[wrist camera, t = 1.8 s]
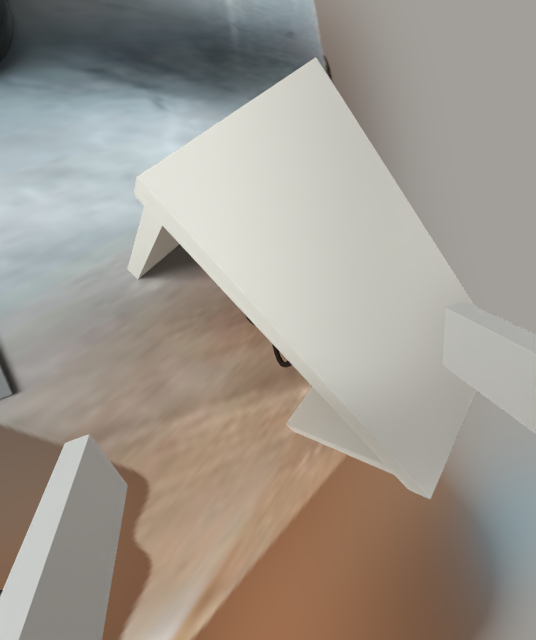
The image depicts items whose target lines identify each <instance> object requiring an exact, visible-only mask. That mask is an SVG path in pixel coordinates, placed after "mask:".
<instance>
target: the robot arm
mask: <svg viewBox="0 0 536 640" xmlns="http://www.w3.org/2000/svg"><path fill="white" fill-rule="evenodd" d="M12 36H13V21H12V16H11V12H10V8H9V5H8V1H7V0H0V60H1V59H2V58H3V57H4V55H5V54H6V52H7V51H8V49H9V47H10V44H11V41H12ZM442 365H443V366H444V367H445V368H447V369H448V370H450V371H451V372H452V373H454V374H455V375H456V376H458V377H459V378H460V379H462V380H463V381H464V382H466V383H467V384H469V385H470V386H471V387H473V388H474V389H475V390H477V391H478V392H479V393H481V394H482V395H484V396H485V397H486V398H488V399H489V400H490V401H492V402H493V403H494V404H496V405H497V406H498V407H500V408H501V409H502V410H504V411H505V412H507V413H508V414H509V415H511V416H512V417H513V418H515V419H516V420H517V421H519V422H520V423H521V424H523V425H525V426H526V427H527V428H528V429H530V430H531V431H532V432H534V433H535V434H536V334H535V333H532V332H530V331H528V330H526V329H524V328H522V327H519V326H517V325H515V324H513V323H510V322H508V321H506V320H504V319H502V318H499V317H497V316H495V315H493V314H491V313H489V312H486V311H484V310H482V309H480V308H478V307H475V306H473V305H471V304H469V303H467V302H464V301H462V302H460V303H457V304H454V305H451V306H448V307H446V312H445V328H444V345H443V361H442ZM126 491H127V484H126V482H125V481H124V480H123V478H122V477H121V476H120V474H119V473H118V472H117V470H116V469H115V468H114V466H113V465H112V464H111V462H110V461H109V460H108V458H107V457H106V456H105V454H104V453H103V452H102V450H101V449H100V448H99V446H98V445H97V444H96V442H95V441H94V440H93V438H92V437H91V436H90V434H89V435H86V436H83V437H80V438H78V439H75V440H72V441H69V442H66V443H65V445H64V447H63V449H62V452H61V454H60V456H59V459H58V461H57V464H56V466H55V468H54V471H53V473H52V475H51V478H50V480H49V482H48V485H47V487H46V489H45V492H44V494H43V497H42V499H41V501H40V504H39V506H38V508H37V511H36V513H35V516H34V518H33V520H32V523H31V525H30V527H29V530H28V532H27V534H26V537H25V539H24V541H23V544H22V546H21V549H20V551H19V553H18V556H17V558H16V560H15V563H14V565H13V567H12V570H11V572H10V575H9V577H8V579H7V582H6V584H5V586H4V589H3V590H0V640H102V635H103V628H104V623H105V617H106V611H107V604H108V599H109V593H110V587H111V581H112V575H113V569H114V563H115V557H116V551H117V545H118V539H119V533H120V527H121V521H122V515H123V509H124V503H125V497H126Z"/></svg>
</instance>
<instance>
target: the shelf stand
mask: <svg viewBox="0 0 536 640" xmlns="http://www.w3.org/2000/svg"><path fill="white" fill-rule="evenodd" d="M134 195H135V197H136V198H137V199H138V200H139V201H140V202H141V203H142V204H143V205H144V209H143V213H142V217H141V221H140V224H139V228H138V232H137V236H136V239H135V243H134V247H133V251H132V254H131V258H130V262H129V265H128V270H129V271H130V272H131V273H132V274H133V275H134V276H135V277H136V278H137V279H139V278H140V277H141V276H143V275H144V274H145V273H146V272H147V271H149V270H150V269H151V268H152V267H153V266H154V265H156V264H157V263H158V262H159V261H160V260H162V259H163V258H164V257H165V256H166V255H168V254H169V253H170V252H171V251H172V250H174V249H175V248H176V247H177V246H178V245H179V244H180V245H181V246H182V247H183V248H184V249H185V250H186V251H187V252H188V253H189V255H190V256H191V257H192V258H193V259H194V260H195V261H196V262H197V263H198V264H199V265H200V266H201V267H202V269H203V270H204V271H205V272H206V273H207V274H208V275H209V276H210V277H211V278H212V279H213V280H214V281H215V282H216V284H217V285H218V286H219V287H220V288H221V289H222V290H223V291H224V292H225V293H226V294H227V295H228V296H229V298H230V299H231V300H232V301H233V302H234V303H235V304H236V305H237V306H238V307H239V308H240V309H241V310H242V311H243V313H244V314H245V315H246V316H247V317H248V318H249V319H250V320H251V321H252V322H253V323H254V324H255V325H256V327H257V328H258V329H259V330H260V331H261V332H262V333H263V334H264V335H265V336H266V337H267V338H268V339H269V341H270V342H271V343H272V344H273V345H274V346H275V347H276V348H277V349H278V350H279V351H280V352H281V353H282V354H283V356H284V357H285V358H286V359H287V360H288V361H289V362H290V363H291V364H292V365H293V366H294V367H295V368H296V370H297V371H298V372H299V373H300V374H301V375H302V376H303V377H304V378H305V379H306V380H307V381H308V382H309V383H310V385H311V386H312V387H311V388H310V390H309V391H308V392H307V394H306V395H305V397H304V398H303V400H302V401H301V402H300V404H299V405H298V407H297V408H296V410H295V411H294V412H293V414H292V415H291V417H290V418H289V420H288V421H287V422H286V425H287V426H288V427H289V428H290V429H291V430H292V431H294V432H296V433H298V434H301V435H303V436H305V437H308V438H310V439H312V440H315V441H317V442H319V443H322V444H324V445H326V446H329V447H331V448H333V449H336V450H338V451H340V452H342V453H345V454H347V455H349V456H352V457H354V458H356V459H359V460H361V461H364V462H366V463H368V464H370V465H373V466H375V467H378V468H380V469H382V470H384V471H386V472H389V473H391V474H393V475H395V476H396V477H397V478H398V479H399V480H400V481H401V482H402V483H403V484H404V485H405V487H406V488H407V489H409V490H411V491H413V492H415V493H417V494H419V495H421V496H424V497H426V498H428V499H431V497H432V494H433V492H434V490H435V487H436V485H437V483H438V480H439V478H440V476H441V473H442V471H443V469H444V466H445V464H446V462H447V459H448V457H449V455H450V452H451V450H452V448H453V445H454V443H455V441H456V438H457V436H458V434H459V431H460V429H461V427H462V424H463V422H464V419H465V417H466V415H467V413H468V410H469V408H470V405H471V403H472V401H473V399H474V396H475V394H476V392H477V390H475V389H474V388H473V387H471V386H470V385H469V384H467V383H466V382H464V381H463V380H462V379H460V378H459V377H458V376H456V375H455V374H454V373H452V372H451V371H450V370H448V369H447V368H445V367H444V366H443V365H442V361H443V345H444V328H445V312H446V307H448V306H451V305H454V304H457V303H460V302H462V301H464V302H467V303H469V304H471V305H473V306H475V305H474V304H473V302H472V301H471V299H470V297H469V296H468V294H467V293H466V291H465V290H464V288H463V286H462V285H461V284H460V282H459V280H458V279H457V277H456V276H455V274H454V272H453V271H452V269H451V268H450V266H449V265H448V263H447V261H446V260H445V258H444V257H443V255H442V254H441V252H440V250H439V249H438V247H437V246H436V244H435V243H434V241H433V240H432V238H431V237H430V235H429V233H428V232H427V230H426V229H425V227H424V226H423V224H422V222H421V221H420V219H419V218H418V216H417V215H416V213H415V211H414V210H413V208H412V207H411V205H410V204H409V202H408V200H407V199H406V198H405V196H404V194H403V192H402V191H401V189H400V188H399V186H398V185H397V183H396V182H395V180H394V178H393V177H392V175H391V174H390V172H389V171H388V169H387V168H386V166H385V164H384V163H383V161H382V160H381V158H380V157H379V155H378V153H377V152H376V150H375V149H374V147H373V145H372V144H371V143H370V141H369V139H368V138H367V136H366V135H365V133H364V131H363V130H362V129H361V127H360V125H359V124H358V122H357V121H356V119H355V117H354V116H353V114H352V113H351V111H350V110H349V108H348V106H347V105H346V104H345V102H344V100H343V98H342V97H341V95H340V94H339V92H338V91H337V89H336V88H335V86H334V84H333V83H332V81H331V80H330V78H329V77H328V75H327V73H326V72H325V70H324V69H323V67H322V66H321V64H320V62H319V61H318V59H317V58H316V57H315V58H314V59H312V60H311V61H309V62H308V63H306V64H305V65H303V66H302V67H300V68H299V69H297V70H296V71H294V72H293V73H291V74H290V75H288V76H287V77H285V78H284V79H283V80H281V81H280V82H278V83H277V84H275V85H274V86H272V87H271V88H269V89H268V90H266V91H265V92H263V93H262V94H260V95H259V96H257V97H256V98H254V99H253V100H251V101H250V102H248V103H247V104H245V105H244V106H242V107H241V108H239V109H238V110H236V111H235V112H233V113H232V114H230V115H229V116H227V117H226V118H224V119H223V120H221V121H220V122H218V123H217V124H215V125H214V126H212V127H211V128H209V129H208V130H206V131H205V132H203V133H202V134H200V135H199V136H197V137H196V138H194V139H193V140H191V141H190V142H188V143H187V144H185V145H184V146H182V147H181V148H179V149H178V150H176V151H175V152H173V153H172V154H170V155H169V156H167V157H166V158H164V159H163V160H161V161H160V162H158V163H157V164H155V165H154V166H152V167H151V168H149V169H148V170H146V171H145V172H143V173H142V174H140V175H139V176H137V178H136V184H135V189H134Z"/></svg>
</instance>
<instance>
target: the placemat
mask: <svg viewBox="0 0 536 640" xmlns="http://www.w3.org/2000/svg"><path fill="white" fill-rule="evenodd" d="M11 394H14V393H13V391H12V388H11V386H10V384H9V382H8V379H7V377H6V375H5V372H4V370H3V368H2V365H1V363H0V398H3V397H6V396H9V395H11Z"/></svg>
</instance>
